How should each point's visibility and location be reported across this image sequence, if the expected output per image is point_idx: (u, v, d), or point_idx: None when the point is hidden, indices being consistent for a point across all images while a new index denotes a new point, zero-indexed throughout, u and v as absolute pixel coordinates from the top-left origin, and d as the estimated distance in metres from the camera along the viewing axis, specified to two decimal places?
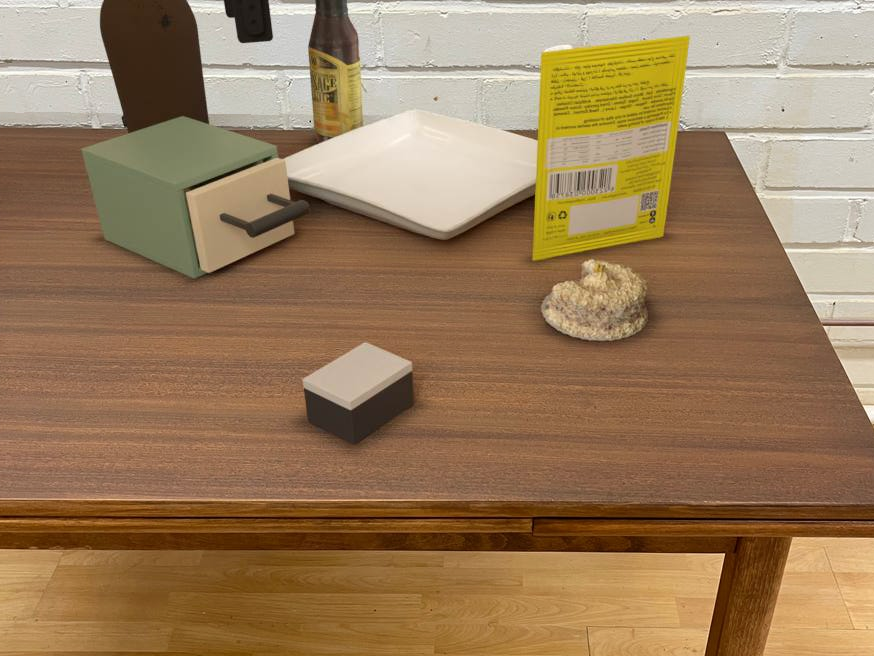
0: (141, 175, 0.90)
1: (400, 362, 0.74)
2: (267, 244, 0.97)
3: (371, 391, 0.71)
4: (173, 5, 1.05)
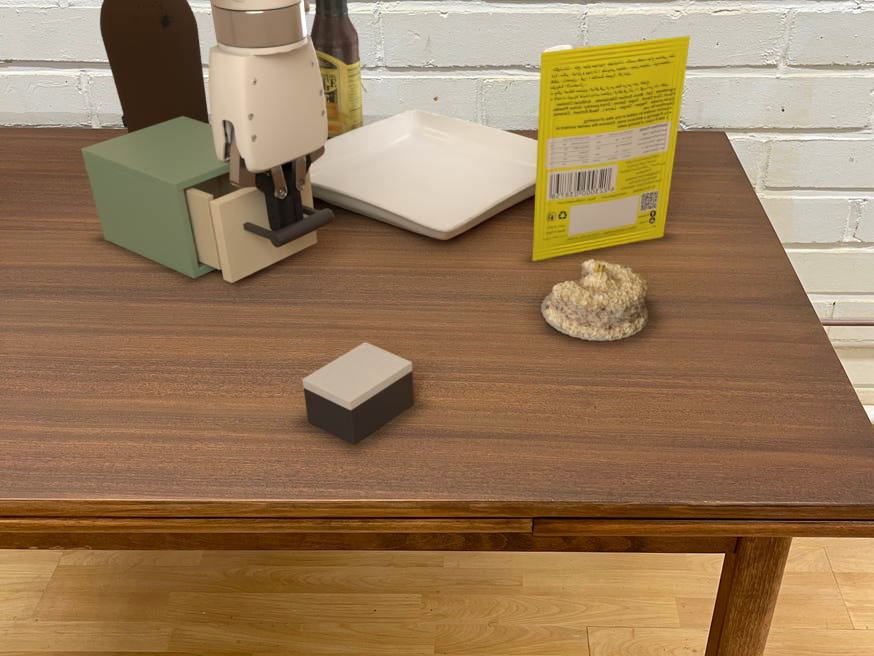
0: (141, 175, 0.90)
1: (400, 362, 0.74)
2: (290, 253, 0.95)
3: (371, 391, 0.71)
4: (173, 5, 1.05)
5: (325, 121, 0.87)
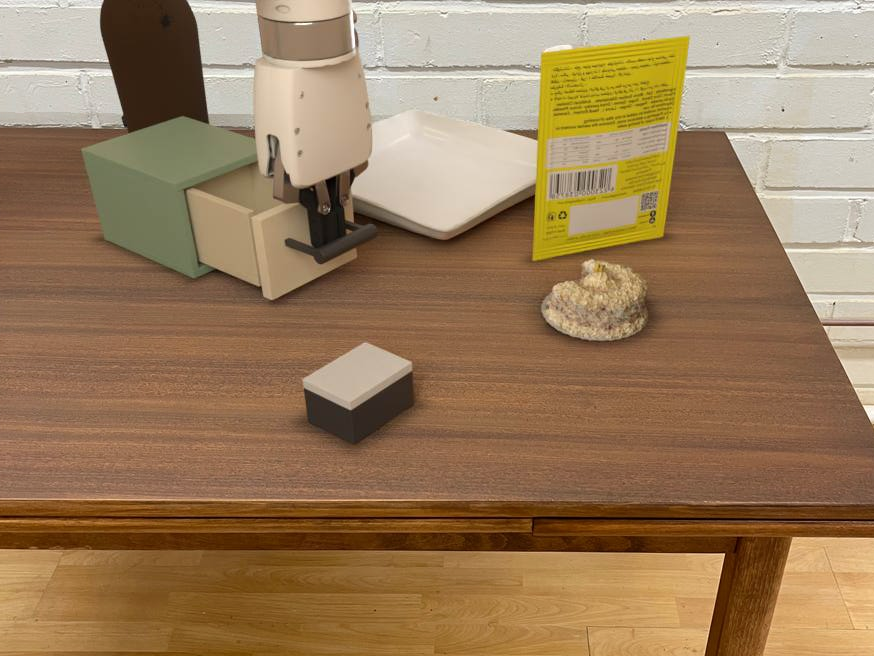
0: (141, 175, 0.90)
1: (400, 362, 0.74)
2: (330, 269, 0.93)
3: (371, 391, 0.71)
4: (173, 5, 1.05)
5: (370, 135, 0.84)
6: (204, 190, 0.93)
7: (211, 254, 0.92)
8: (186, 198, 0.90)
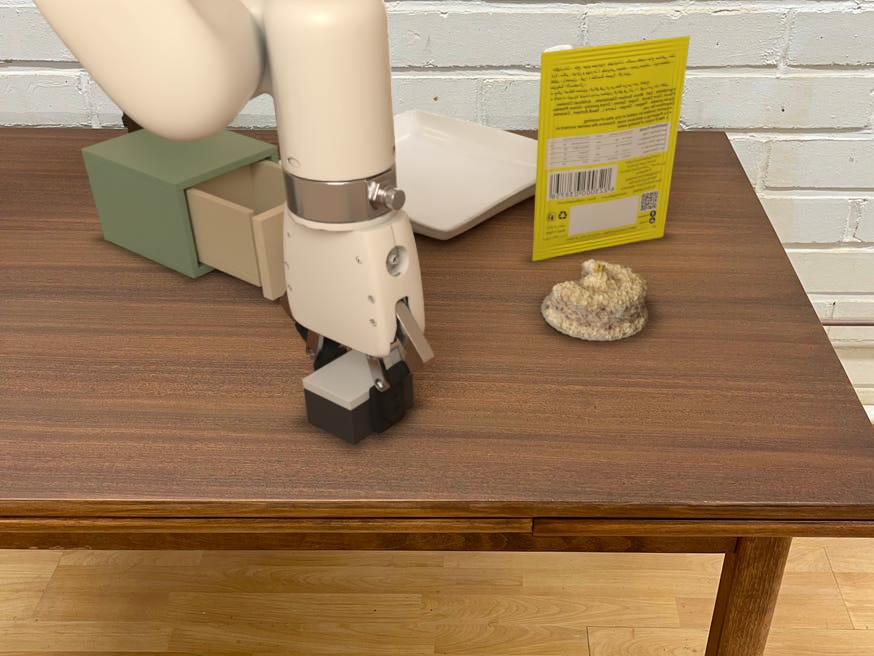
0: (141, 175, 0.90)
1: None
2: None
3: None
4: None
5: (376, 333, 0.66)
6: (204, 190, 0.93)
7: (212, 255, 0.92)
8: (186, 198, 0.90)
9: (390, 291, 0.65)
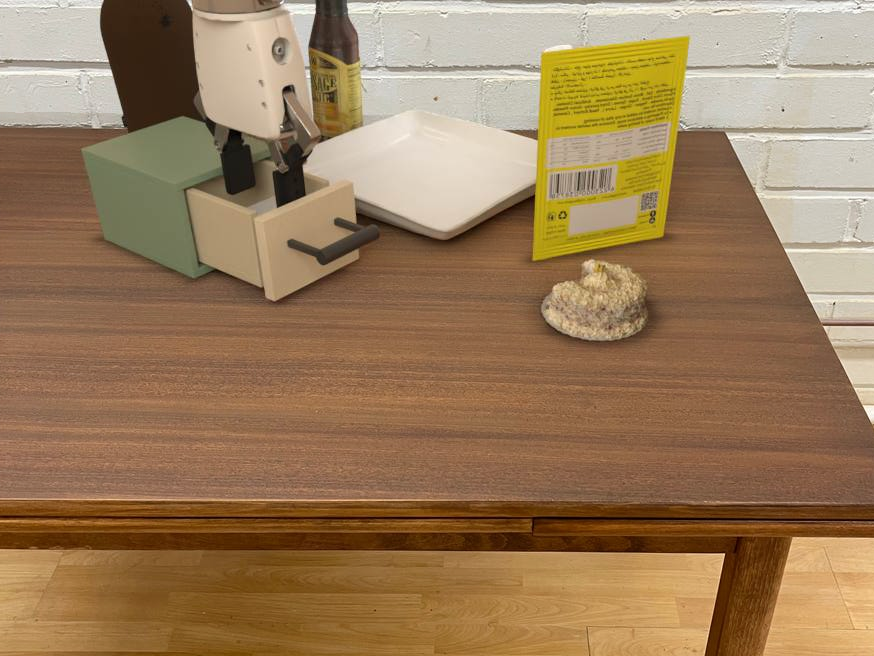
0: (141, 175, 0.90)
1: None
2: (332, 270, 0.93)
3: None
4: (173, 5, 1.05)
5: (267, 115, 0.81)
6: (206, 191, 0.93)
7: (213, 255, 0.92)
8: (188, 199, 0.90)
9: (277, 77, 0.80)
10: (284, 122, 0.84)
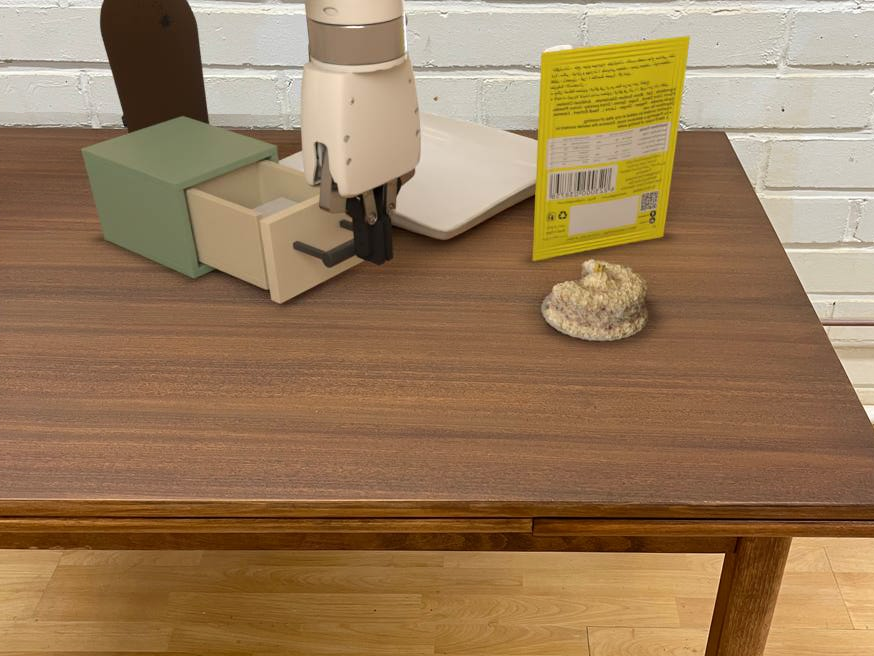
0: (141, 175, 0.90)
1: None
2: (338, 272, 0.92)
3: None
4: (173, 5, 1.05)
5: (419, 141, 0.81)
6: (211, 193, 0.92)
7: (219, 257, 0.91)
8: (193, 201, 0.89)
9: None
10: None
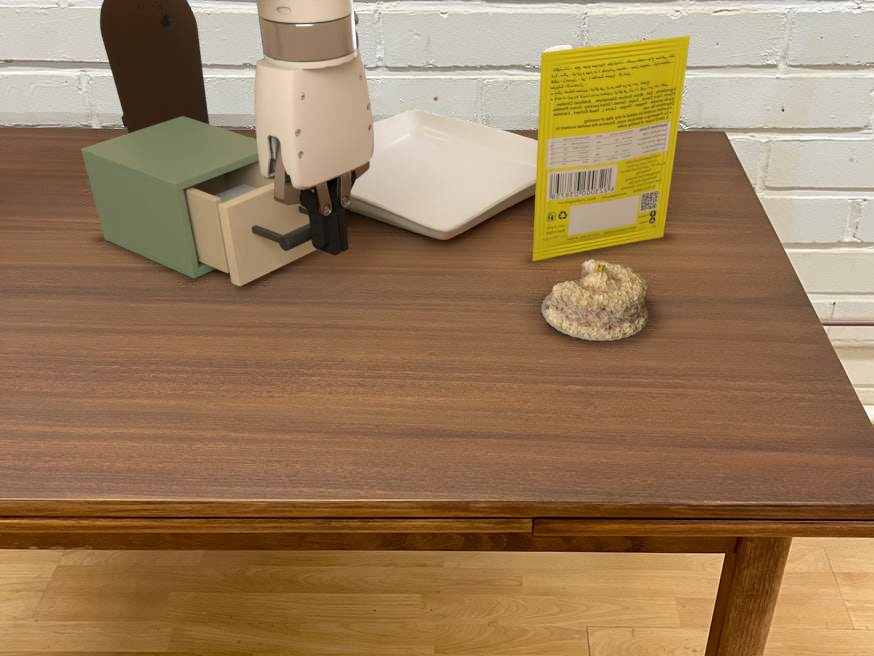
0: (141, 175, 0.90)
1: None
2: (298, 256, 0.95)
3: None
4: (173, 5, 1.05)
5: (372, 136, 0.84)
6: None
7: None
8: None
9: None
10: None
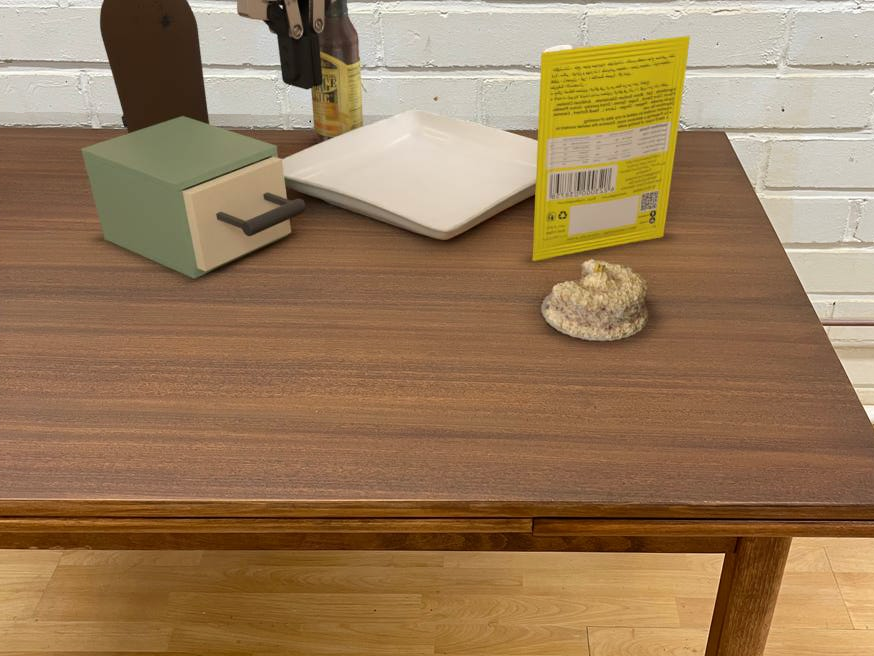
0: (141, 175, 0.90)
1: None
2: (264, 243, 0.97)
3: None
4: (173, 5, 1.05)
5: None
6: None
7: None
8: None
9: None
10: None
